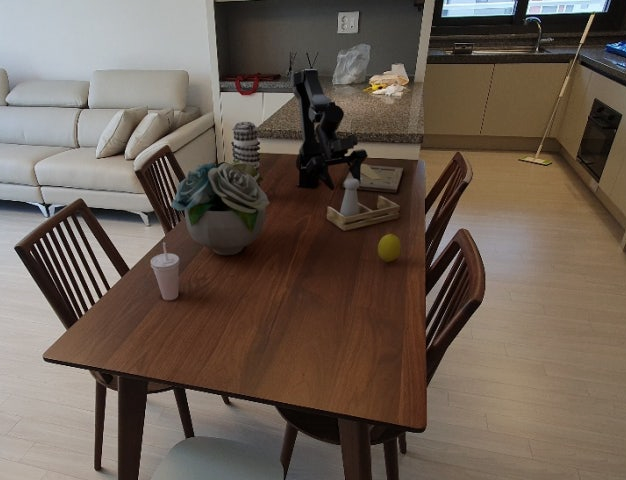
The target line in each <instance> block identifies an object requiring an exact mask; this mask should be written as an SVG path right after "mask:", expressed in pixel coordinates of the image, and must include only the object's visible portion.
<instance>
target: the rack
mask: <svg viewBox="0 0 626 480" xmlns="http://www.w3.org/2000/svg"><path fill="white" fill-rule="evenodd" d="M358 207H359V214H357V215H353V216H349V217H345V216H344V215H342V214H341V213H340V211H338V210H336V209H334V208H333V207H331V206H327V207H326V208H327V210H326V220H328V221H329V222H331V223H332V224H334V225H335V226H336V227H338V229H339V228H340V229H341V230H342V231H345V232H346V231H350V230H355V229H358V228H363V227H366V226H371V225H375V224H379V223H384V222H387V221H392V220H397V219H399V215H400V213H398V211H400V209H401V205H399V204H397V203H396V202H394V201H392V200H390V199H388V198H386V197H384V196H382V195H377V203H376V208H377V209H375V210H372V209H371V208H368V207H367V206H365V205H363V204H362V203H360V202H358ZM385 214H386V215H385ZM373 217H374V218H373ZM352 221H356V222H355V223H351V224H348V223H347V222H352Z"/></svg>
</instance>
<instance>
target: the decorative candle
mask: <svg viewBox="0 0 626 480" xmlns="http://www.w3.org/2000/svg"><path fill="white" fill-rule="evenodd" d="M231 130H232V131H233V140H232V141H231V143H230V144H231V146H232V149H231V151H232V157H233V160H232V163H234V162H235V161H236V160H239V162H240V164H242V163H243V164H249V163H250V164H252V165H253V167H254V168H255V169H256V171H257V172H259V167H260V162H259V161H260V160H261V158H260V157H259V156H260V155H261V153H260V152H259V151H260V150H261V146H260V145H261V142H260V141H259V137H258V130H259V128H258V126H256V125H255V123H254V122H251V121H240V122H237V123H236V124H235V125H234V127H232V128H231ZM259 176H260V172H259V173H258V174H257V175H256V176H255V177H254V179H255V180H256V179H257V178H258V177H259ZM257 184H258V186H259V188H260V187H261V182H258V183H257ZM260 189H261V188H260Z"/></svg>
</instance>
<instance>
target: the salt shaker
mask: <svg viewBox="0 0 626 480" xmlns="http://www.w3.org/2000/svg"><path fill="white" fill-rule="evenodd" d="M344 181H345V183H344V182H343V183H344V187H345V188H344V189H345V190H344V196H343V199H342V203H341V207H340V209H339V213H341V214H342V215H344V216H345V217H349V216H353V215H357V214H359V207H358V203H359V200H358V189H357V188H359V181H358V180H357V179H353V178H350V179H347V180H345V179H344ZM356 222H357V220H356V221H352V222H347V223H346V224H351V223H356Z"/></svg>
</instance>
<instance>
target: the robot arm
mask: <svg viewBox="0 0 626 480" xmlns="http://www.w3.org/2000/svg"><path fill="white" fill-rule="evenodd" d="M290 86H291V88H292V94H293V95H294V97H295V98H296V99H297V100H298V108H299V119H300V127H301V138H302V139H301V140H302V143H301V145H300V147H299V150H298V155H297V157H296V160H295V167H296V168H297V170H298V174H299V175H298V184H297V185H296V186H297V187H300V188H309V189H315V188H316V187H317V186H318V185H319V184H320V181H321V182H322V183H323V184H325V186H326V187H328V189H330V191H334V190H335V185H334V183H333V180H332V177H331V175H330V172H329V167H331V166H335V165H341V164H346V163H347V166H348V170H349V173H350V172H351V174H352V176H353V178H354V179H357V180H358V181H359V185H360V183H361V175H360V170H361V164H363V163H364V162H365V160H366V159H367V158H368V157H369V155H368V152H367V151H366V149H364V148H362V149H361V148H360V149H355V146H358V143H359V142H358V141H359V140H358V137H357V135H356V134H355V133H353V134H349V135H346V136H347V137H344V138H343V137H339V136H338V134H337V132H336V131H338V130H339V127H340V125H341V124H342V121H343V119H344V117H345V112H344V110H343V109H342V108H341V106H339V105H337V104H336V102H335V101H332V99H331V98H329V97H327V96H326V95H325V92H324V89H323V87H322V84H321V81H320V78H319V70H318V69H316V68H304V69H302V70H300V71H295V72H294V73H293V74H292V75H291V76H290ZM315 124H317V125H316V126H315ZM351 149H352V151H351V153H350V154H349V155H347V154H348V153H349V150H351Z"/></svg>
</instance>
